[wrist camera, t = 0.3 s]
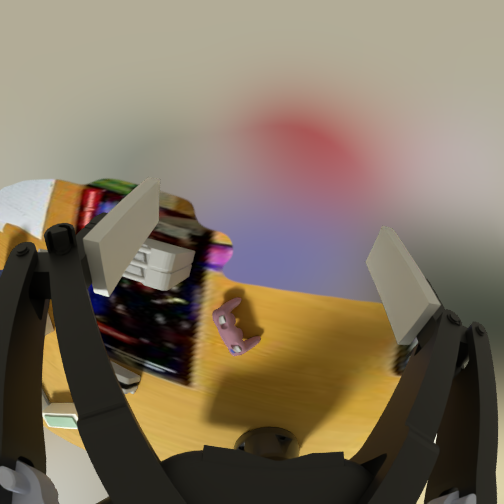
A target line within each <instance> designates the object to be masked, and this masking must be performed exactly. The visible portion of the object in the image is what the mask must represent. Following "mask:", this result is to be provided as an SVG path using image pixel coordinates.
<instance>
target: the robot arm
mask: <svg viewBox="0 0 504 504" xmlns="http://www.w3.org/2000/svg"><path fill="white" fill-rule="evenodd" d="M159 195H160V179H157V178H150V177H148V178H146V179H145V180H144V181H143V182H142V183H141V184H139V185H138V186H137V187H136V188H135V189H134V190H133V191H132V192H130V193H129V194H128V195H127V196H126V197H125V198H124V199H123V200H122V201H121V202H119V203H118V204H117V205H116V206H115V207H114V208H113V209H112V210H111V211H110V212H109V213H104V212H103V213H101V214H99V215H97V216H95V217H94V218H93V219H92V220H91V221H90V222H89V223H88V224H87V225H86V226H85V228H83V229H82V230H81V231H80V232H79V233H78V234H77V235H76V236H75V230H74V227H73V225H71V224H68V223H60V224H56V225H54V226H52V227H50V228H49V229H48V230H47V231H46V232H45V234H44V238H45V242H46V246H47V250H48V252H37V250H36V247H35V245H34V243H32V242H24V243H20V244H18V245H17V246H16V247H15V248H13V250H12V251H11V253H10V255H9V257H8V260H7V262H6V264H5V267H4V269H3V272H2V274H1V277H0V504H59V502H58V492H57V489H55V486H54V484H53V483H52V481H51V480H50V479H49V477H47V475H46V452H45V441H44V431H43V417H42V364H43V349H44V339H45V330H46V322H47V315H48V308H49V302H50V299H52V307H53V314H54V321H55V327H56V333H57V339H58V344H59V349H60V354H61V358H62V362H63V367H64V371H65V374H66V378H67V382H68V385H69V389H70V392H71V395H72V399H73V402H74V405H75V408H76V411H77V414H78V420H77V428H78V431H79V434H80V436H81V439H82V441H83V444H84V446H85V449H86V451H87V453H88V455H89V458H90V460H91V462H92V464H93V466H94V468H95V470H96V472H97V474H98V476H99V478H100V480H101V482H102V484H103V486H104V488H105V489H106V491H107V493H108V495H109V497H107V498H105V499H104V500H102V501H100V502H98V503H97V504H416V502H417V500H418V499H419V497H420V495H421V493H422V491H423V489H424V487H425V485H426V483H427V488H426V493H425V499H424V504H497V487H496V463H497V448H498V410H497V393H496V383H495V375H494V367H493V361H492V355H491V350H490V344H489V339H488V335H487V332H486V330H485V328H484V327H483V326H482V325H481V324H479V323H477V322H473V323H472V324H471V325H470V327H469V328H466V327H464V326H462V322H461V320H460V319H459V317H458V316H457V315H456V314H455V313H454V312H452V311H451V310H447V309H446V310H445V309H444V307H443V305H442V303H441V301H440V300H439V298H438V296H437V294H435V291H434V289H432V286H431V284H430V282H429V281H428V280H427V279H426V278H425V277H424V275H423V274H422V272H421V270H420V269H419V267H418V266H417V264H416V262H415V261H414V259H413V258H412V256H411V255H410V253H409V252H408V250H407V249H406V247H405V246H404V244H403V243H402V242H401V240H400V239H399V237H398V236H397V234H396V233H395V231H394V230H393V229H392V228H389V227H386V226H382V228H381V230H380V232H379V234H378V237H377V239H376V241H375V243H374V245H373V247H372V250H371V251H370V254H369V256H368V258H367V260H366V265H367V267H368V269H369V272H370V274H371V276H372V279H373V281H374V283H375V286H376V288H377V291H378V293H379V296H380V298H381V301H382V303H383V306H384V308H385V311H386V313H387V316H388V319H389V321H390V324H391V327H392V330H393V332H394V335H395V338H396V341H397V344H398V345H410V343H411V342H412V341H413V340H414V339H415V337H417V340H418V343H417V345H416V346H415V347H414V348H413V349H412V350H411V351H410V353H409V354H408V355H407V356H406V357H407V358H408V357H409V356H410V359H409V361H408V363H407V366H406V368H405V370H404V372H403V374H402V377H401V379H400V381H399V383H398V385H397V387H396V389H395V391H394V393H393V395H392V397H391V399H390V401H389V402H388V404H387V406H386V408H385V410H384V412H383V413H382V415H381V417H380V419H379V420H378V422H377V424H376V425H375V427H374V429H373V430H372V432H371V434H370V435H369V437H368V438H367V440H366V442H365V443H364V445H363V446H362V448H361V449H360V450H359V451H358V453H357V454H355V455H354V456H353V457H352V458H351V459H350V460H347V459H344V453H343V452H329V453H312V454H308V455H304V456H300V457H299V444H298V441H297V439H296V437H295V436H294V435H293V434H292V433H291V432H289V431H287V430H285V429H281V428H276V427H264V428H258V429H254V430H252V431H249V432H247V433H245V434H244V435H242V436H241V437H240V438H239V439H238V440H237V441H236V443H235V446H234V449H228V448H221V447H214V446H208V445H204V449H203V450H201V451H190V452H185V453H181V454H177V455H174V456H172V457H169V458H167V459H166V460H164V461H162V462H161V461H160V459H159V458H158V456H157V455H156V453H155V451H154V450H153V448H152V446H151V445H150V443H149V441H148V440H147V438H146V436H145V434H144V433H143V431H142V429H141V427H140V425H139V423H138V421H137V419H136V417H135V415H134V413H133V411H132V409H131V407H130V405H129V403H128V401H127V399H126V397H125V395H124V392H123V390H122V388H121V386H120V383H119V381H118V379H117V376H116V374H115V371H114V369H113V366H112V364H111V361H110V359H109V356H108V353H107V351H106V348H105V345H104V342H103V339H102V336H101V333H100V330H99V327H98V324H97V321H96V318H95V314H94V311H93V307H92V304H91V300H90V296H89V293H88V288H89V286H90V285H91V283H92V285H93V289H94V293H97V294H101V295H104V296H107V297H109V296H110V295H111V293H112V291H113V290H114V288H115V286H116V285H117V283H118V281H119V280H120V278H121V277H122V275H123V274H124V272H125V270H126V269H127V267H128V266H129V264H130V263H131V261H132V260H133V258H134V257H135V255H136V254H137V252H138V251H139V249H140V248H141V246H142V245H143V243H144V242H145V240H146V239H147V238H148V236H149V235H150V233H151V232H152V230H153V229H154V228H155V226H156V225H157V223H158V222H159ZM468 360H469V362H468V364H467V366H466V367H465V368H464V364H465V363H466V362H467V361H468ZM436 434H437V438H436V444H435V443H434V439H435V437H436ZM427 481H428V482H427Z"/></svg>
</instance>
